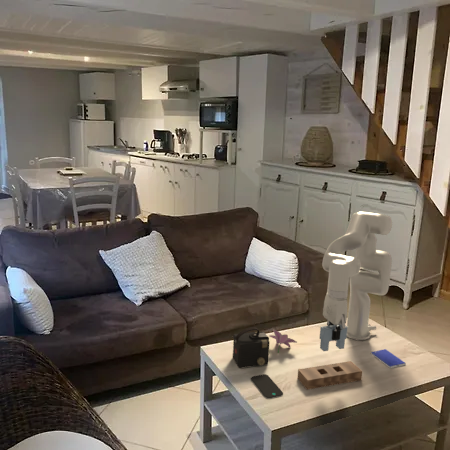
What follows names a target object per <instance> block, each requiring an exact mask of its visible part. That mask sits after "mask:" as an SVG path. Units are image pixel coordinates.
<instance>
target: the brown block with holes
mask: <svg viewBox="0 0 450 450" xmlns="http://www.w3.org/2000/svg"><path fill="white" fill-rule="evenodd" d="M362 378H363V370H362V369H361V368H359V366H357V365H356V364H355V363H354V362H352V360H348V361H342V362H337V363H336V362H335V363H330V364H324V365H319V366H318V365H317V366H311V367H305V368H299V369H297V380H298V381H299V382H300V383H301V385H302V386H303V387H304V389H306V390H312V389H313V390H314V389H319V388H324V387H331V386H336V385H337V386H338V385H341V384H342V385H343V384H348V383H354V382H358V381H362Z"/></svg>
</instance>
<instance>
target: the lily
mask: <svg viewBox="0 0 450 450" xmlns="http://www.w3.org/2000/svg"><path fill="white" fill-rule="evenodd" d="M272 331H273V333H274V335H273V334H271V335H270V334H269V338H272V339H274V340H275V342H276V344H279V346H278V350H277V354H279V352H280V347H281V345H282V344H284V345H285V346H286V347H288V348H290V349H291V344H290V343H294V344H295V343H298V341H296V340H295V339H293V338H291V337H288V334H285V333H284V334H282V333H281V332H279V331H278V330H277V329H274V328H273V329H272Z"/></svg>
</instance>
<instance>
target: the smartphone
mask: <svg viewBox="0 0 450 450" xmlns="http://www.w3.org/2000/svg"><path fill="white" fill-rule="evenodd" d="M250 381H251V382H252V384H253V385H254V386H255V387H256V388H257V390H258V391H259V392H260V394H261V395H262V396H263V398H265V399H267V400H270V399H275V398H280V397H283V396H284V392H283V390H281V388H279V386H278V385H277V384H276V383H275V382H274V381H273V379H272V378H271V377H270V376H269V375H268V374H267V373H266V374H265V373H264V374H258V375H253V376H251V377H250Z"/></svg>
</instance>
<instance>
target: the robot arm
mask: <svg viewBox="0 0 450 450" xmlns="http://www.w3.org/2000/svg"><path fill="white" fill-rule="evenodd" d="M392 228H393V221H392V217H391V216H389V215H388V214H387V215H386V214H383V213H376V212H375V213H374V212H368V211H357V212H354V213H353V214H352V215H351V217H350V222H349V223H348V226H347V229H346V231H345V233H344V235H342V236H340V237H338V238H336V239H335V240H333V241H332V242H330V244H328V246H327V249H326V251H325V252H324V255H323V258H322V263H321V265H322V268H323V270H324V271H326V272H328V281H327V290H326V295H325V297H324V301H323V310H322V316H323V317H324V319H326V326H329V325H334V330H333V332H332V340H335V341H336V340H339V339H340V332H341V330H342V329H345V328H346V327H345V325H346V326H347V327H348V328H347V338H348V339H351V340H356V341H365V340H369V339H370V338H371V331H375V330H377V326H376V325H371V324H369V319H370V311H371V298H370V296H369V294H373V295H378V296H385V295H386V294H387V293H388V291H389V289H390V279H391V273H392V272H391V271H392V262H393V260H392V255H391V254H390V252H388V251H386V250H385V251H384V250H381V249H377V240H378V239H377V236H376V235H380V236H381V235H382V236H387V235H389V234H390V232H391V230H392ZM353 250H355V256H350V255H345V254H341V252H347V251H348V252H349V251H353ZM361 269H363V270H361ZM366 270H368V271H366ZM369 270H370V271H369ZM372 271H373V272H372ZM375 271H376V272H377V273H376V272H375ZM348 293H349V294H348ZM348 295H349V302H348ZM346 323H347V324H346ZM337 325H339V326H337Z"/></svg>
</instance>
